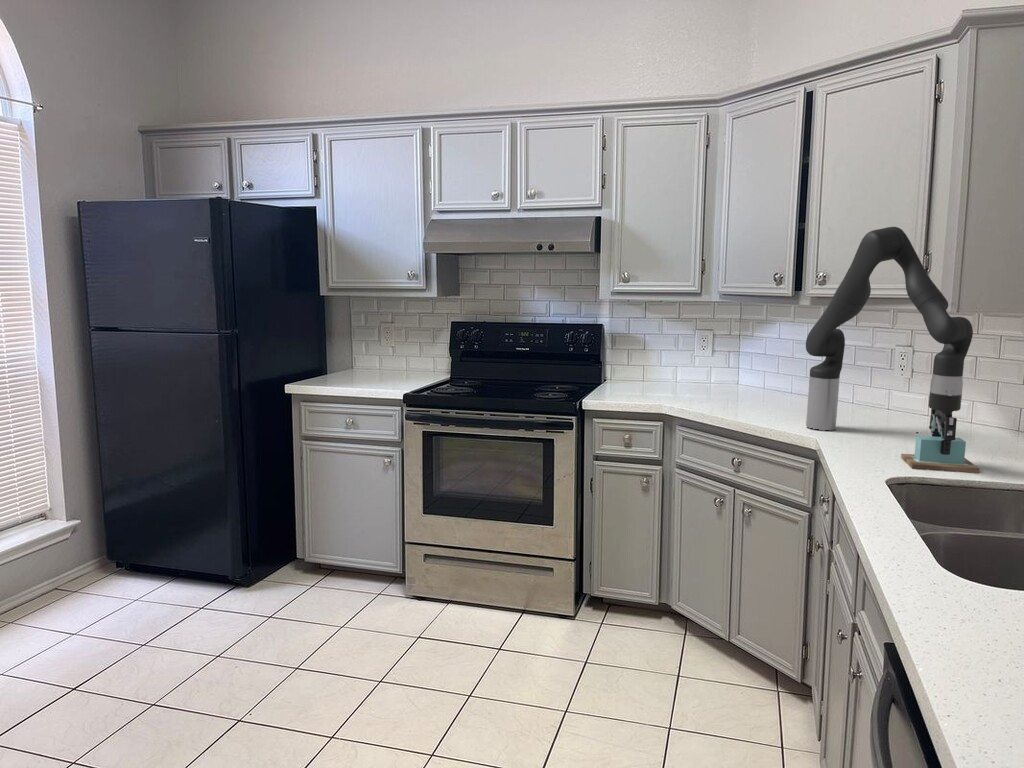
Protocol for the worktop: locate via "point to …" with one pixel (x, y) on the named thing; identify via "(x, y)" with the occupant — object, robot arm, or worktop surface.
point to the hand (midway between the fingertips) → (940, 450)
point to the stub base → (939, 465)
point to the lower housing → (930, 450)
